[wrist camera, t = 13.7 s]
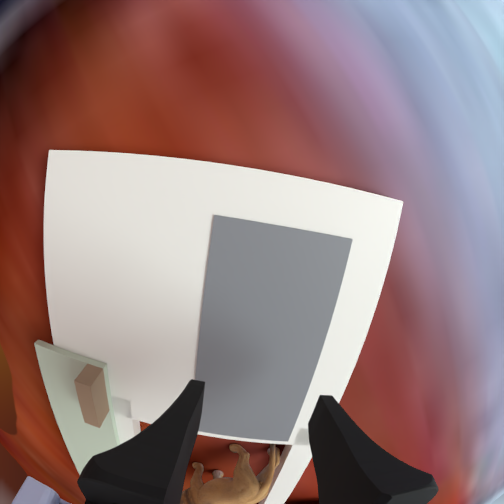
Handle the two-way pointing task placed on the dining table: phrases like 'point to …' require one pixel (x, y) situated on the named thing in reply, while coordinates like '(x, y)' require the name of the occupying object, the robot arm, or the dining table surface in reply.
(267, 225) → the puzzle board
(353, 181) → the dining table surface
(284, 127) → the dining table surface
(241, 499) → the lion figurine
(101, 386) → the shutter
